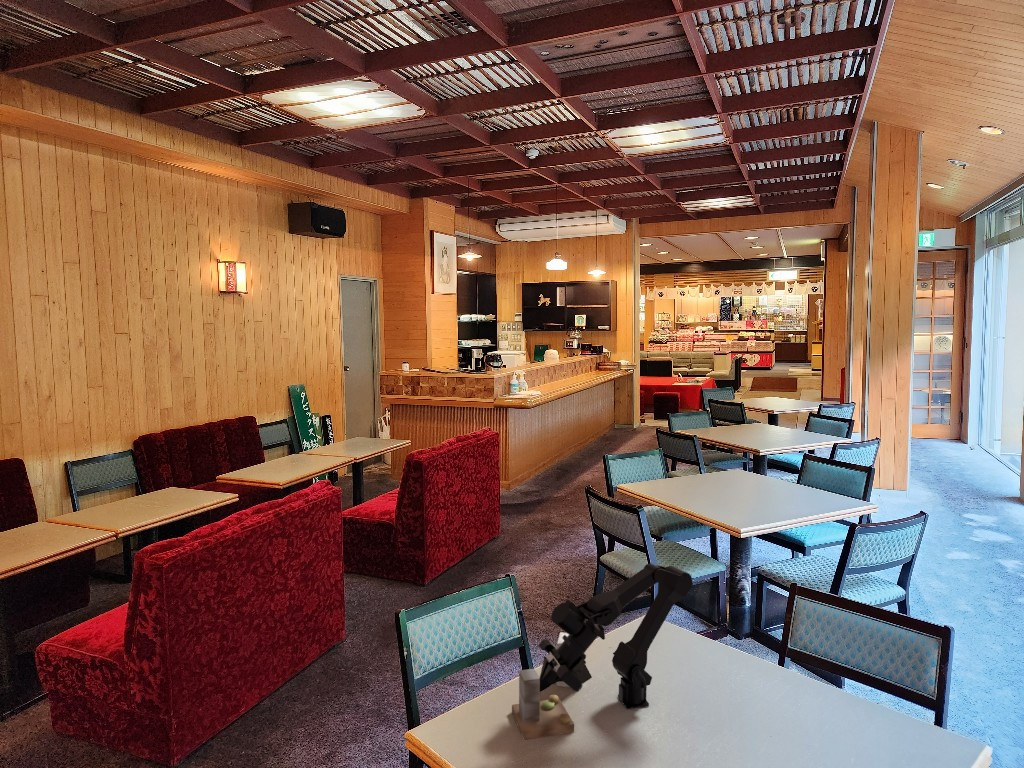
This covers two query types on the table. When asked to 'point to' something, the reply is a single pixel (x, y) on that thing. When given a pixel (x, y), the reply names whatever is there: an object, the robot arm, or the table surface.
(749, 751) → the table surface
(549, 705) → the wooden base with pillar
